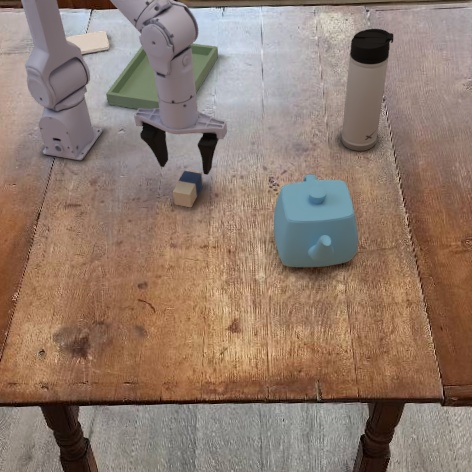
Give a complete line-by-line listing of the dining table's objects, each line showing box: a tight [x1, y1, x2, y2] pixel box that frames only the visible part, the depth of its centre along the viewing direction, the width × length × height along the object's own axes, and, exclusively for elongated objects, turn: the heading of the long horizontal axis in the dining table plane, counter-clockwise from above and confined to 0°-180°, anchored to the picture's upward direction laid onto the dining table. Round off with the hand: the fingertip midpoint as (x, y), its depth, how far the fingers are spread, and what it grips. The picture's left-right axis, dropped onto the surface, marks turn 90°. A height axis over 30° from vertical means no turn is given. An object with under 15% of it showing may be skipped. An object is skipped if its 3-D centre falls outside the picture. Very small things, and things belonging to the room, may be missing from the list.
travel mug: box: [341, 28, 394, 152], centre depth 115 cm, size 6×7×20 cm
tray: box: [105, 43, 219, 110], centre depth 137 cm, size 22×16×2 cm
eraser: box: [172, 169, 204, 208], centre depth 115 cm, size 6×3×3 cm, turn 162°
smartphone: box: [66, 30, 110, 55], centre depth 147 cm, size 7×1×15 cm
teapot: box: [273, 173, 359, 268], centre depth 102 cm, size 12×18×12 cm
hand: (185, 166), depth 111 cm, fingers open, 7 cm apart
